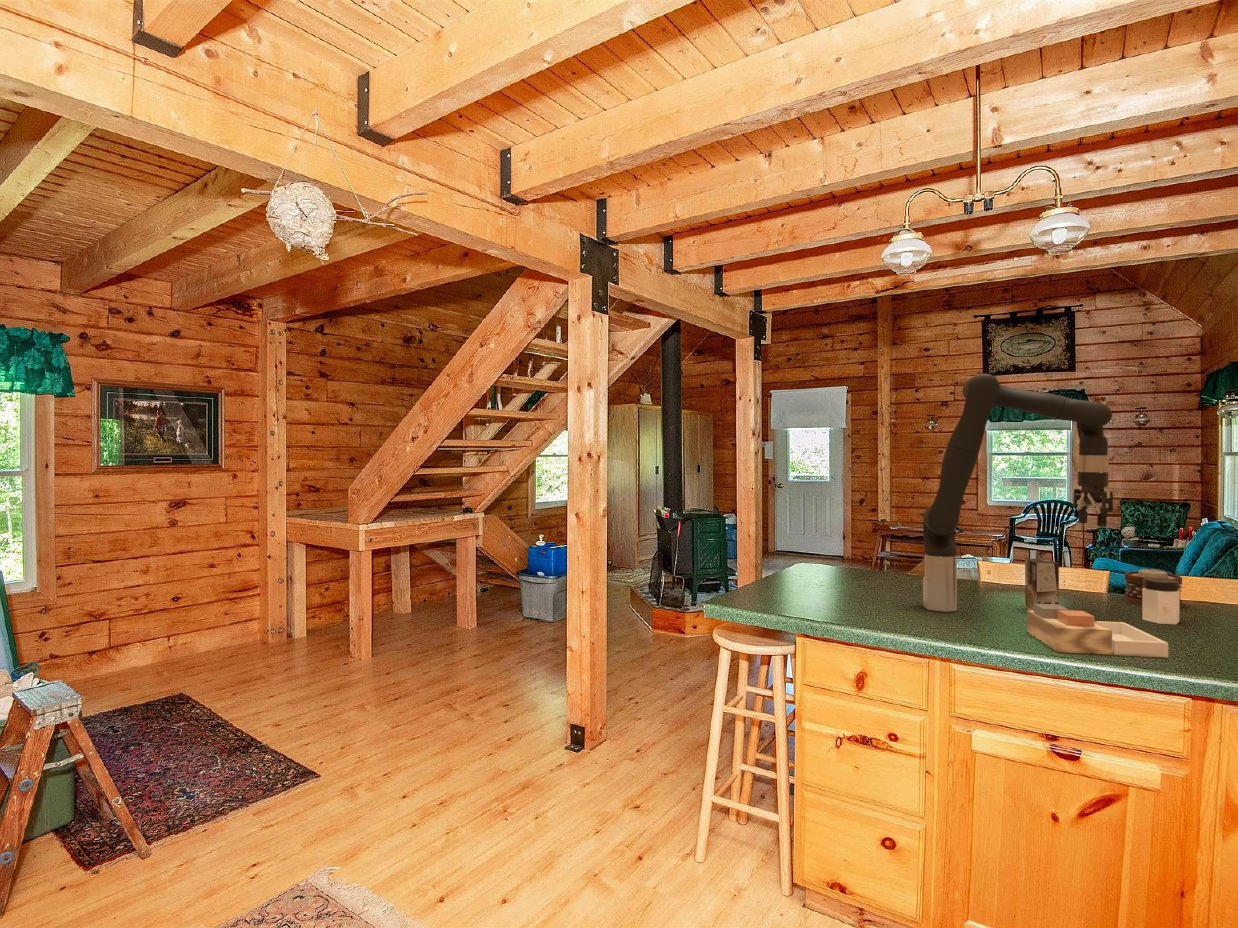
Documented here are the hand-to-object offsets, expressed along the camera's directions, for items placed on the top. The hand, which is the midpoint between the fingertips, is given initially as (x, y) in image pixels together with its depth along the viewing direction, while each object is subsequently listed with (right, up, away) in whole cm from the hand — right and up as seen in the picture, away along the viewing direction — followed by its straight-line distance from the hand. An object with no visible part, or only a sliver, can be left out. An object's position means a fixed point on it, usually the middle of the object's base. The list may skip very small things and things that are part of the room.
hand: (1092, 524), depth 199 cm
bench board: (-25, -28, -26) cm, 46 cm away
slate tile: (-26, -22, -22) cm, 41 cm away
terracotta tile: (-25, -22, -29) cm, 45 cm away
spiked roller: (+31, -27, +16) cm, 44 cm away
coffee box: (-11, -28, +7) cm, 31 cm away
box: (-13, -28, -28) cm, 42 cm away
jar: (+16, -28, -5) cm, 33 cm away
